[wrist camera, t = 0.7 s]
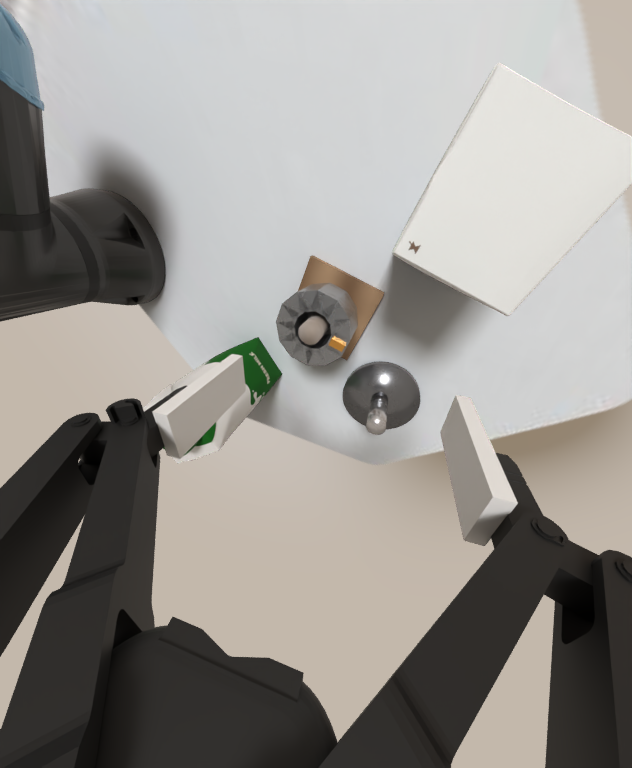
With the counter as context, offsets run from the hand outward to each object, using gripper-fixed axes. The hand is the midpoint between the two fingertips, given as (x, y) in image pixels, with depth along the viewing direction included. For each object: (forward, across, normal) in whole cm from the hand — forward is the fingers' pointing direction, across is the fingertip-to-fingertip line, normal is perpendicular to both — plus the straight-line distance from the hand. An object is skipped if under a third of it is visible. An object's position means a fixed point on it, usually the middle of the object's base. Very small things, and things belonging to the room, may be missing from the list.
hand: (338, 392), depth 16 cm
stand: (+21, -5, -1) cm, 21 cm away
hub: (+20, +4, -12) cm, 24 cm away
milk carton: (+21, -17, -11) cm, 29 cm away
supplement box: (+21, +7, +10) cm, 24 cm away
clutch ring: (+17, -5, -1) cm, 17 cm away
